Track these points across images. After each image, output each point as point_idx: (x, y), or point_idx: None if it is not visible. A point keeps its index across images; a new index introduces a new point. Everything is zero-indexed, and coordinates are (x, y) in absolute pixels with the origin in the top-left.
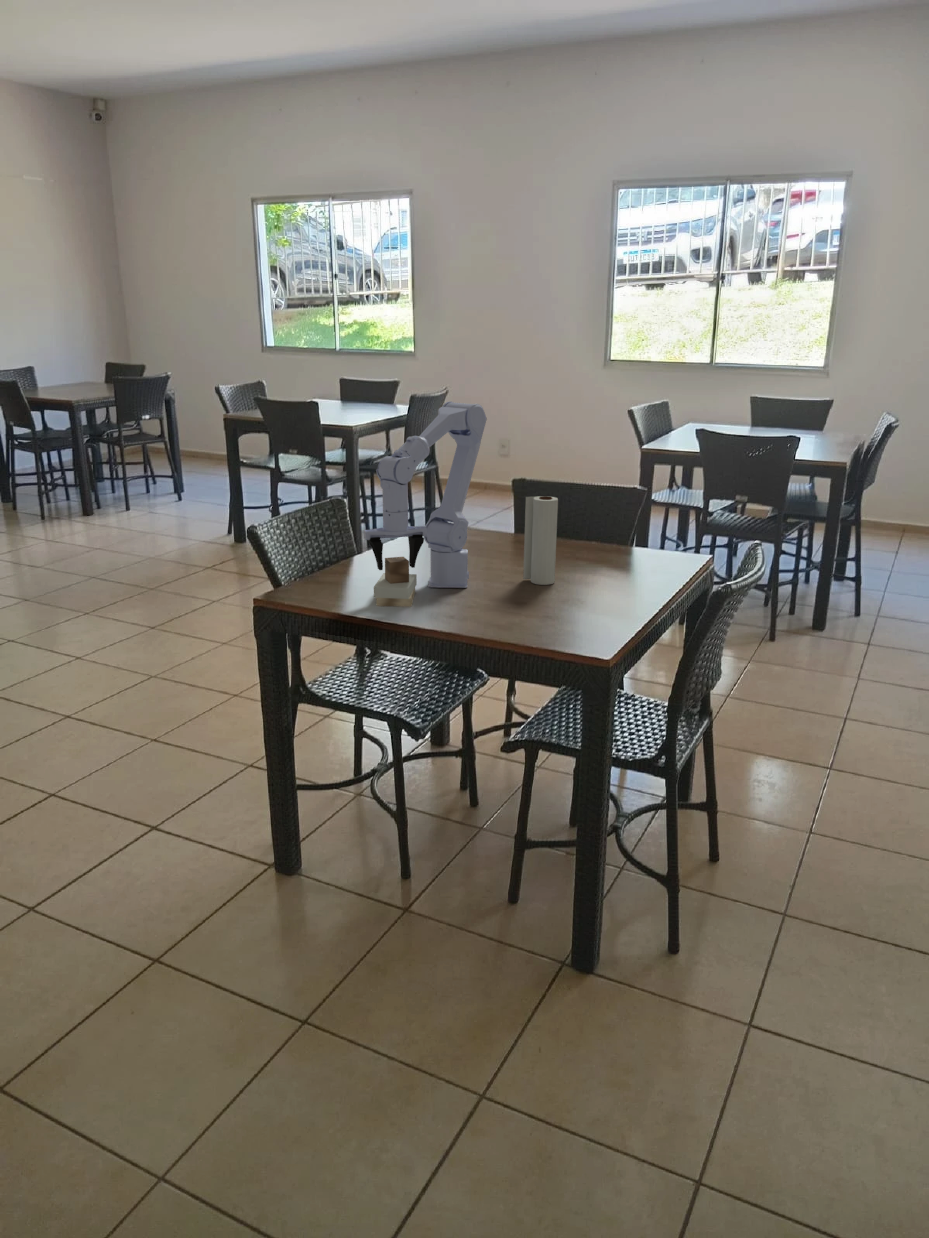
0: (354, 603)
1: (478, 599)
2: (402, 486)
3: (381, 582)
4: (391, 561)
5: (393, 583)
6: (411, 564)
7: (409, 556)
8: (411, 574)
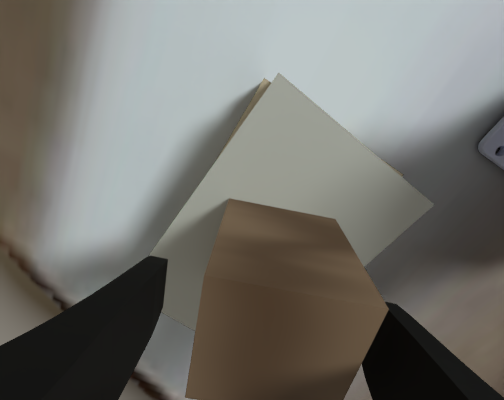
0: (96, 189)
1: (494, 342)
2: None
3: (183, 247)
4: (208, 381)
5: None
6: (368, 355)
7: (422, 352)
8: (409, 192)
